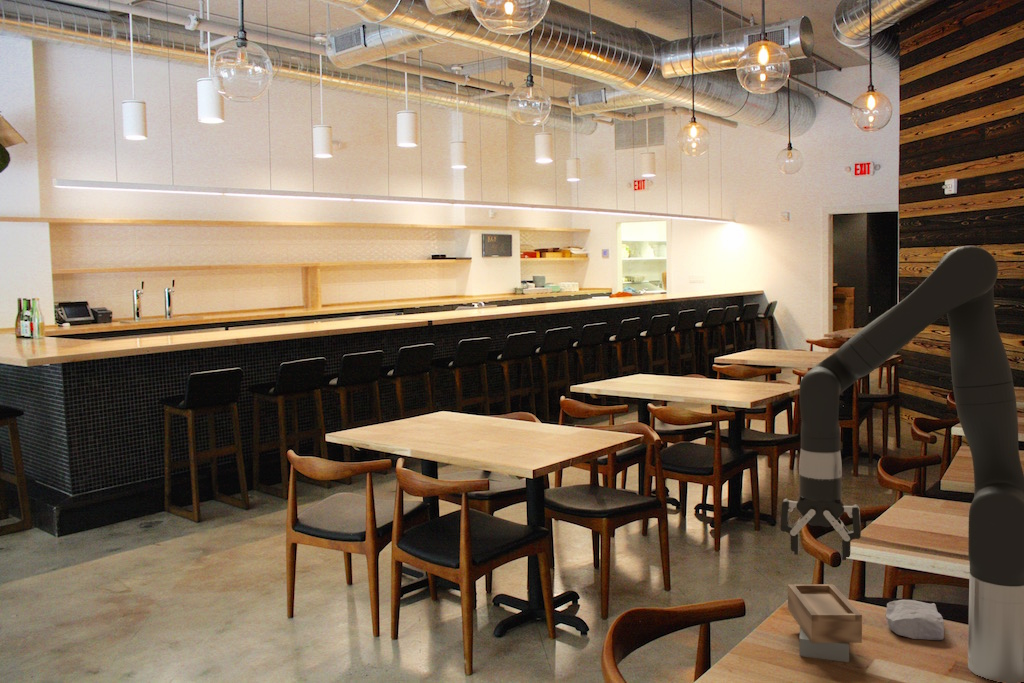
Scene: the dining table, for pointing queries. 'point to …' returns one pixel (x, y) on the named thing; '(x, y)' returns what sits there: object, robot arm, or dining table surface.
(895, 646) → the dining table surface
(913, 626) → the stone block
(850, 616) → the tan open box
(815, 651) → the base slab
